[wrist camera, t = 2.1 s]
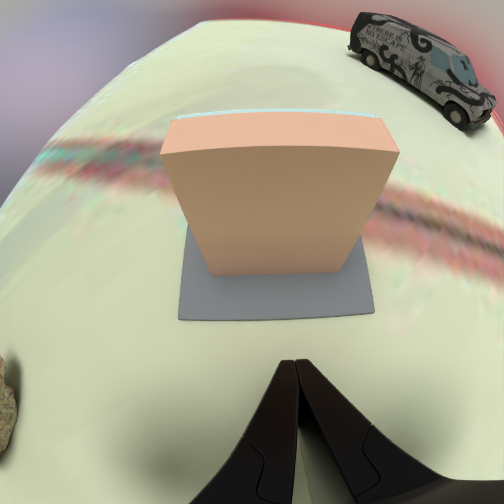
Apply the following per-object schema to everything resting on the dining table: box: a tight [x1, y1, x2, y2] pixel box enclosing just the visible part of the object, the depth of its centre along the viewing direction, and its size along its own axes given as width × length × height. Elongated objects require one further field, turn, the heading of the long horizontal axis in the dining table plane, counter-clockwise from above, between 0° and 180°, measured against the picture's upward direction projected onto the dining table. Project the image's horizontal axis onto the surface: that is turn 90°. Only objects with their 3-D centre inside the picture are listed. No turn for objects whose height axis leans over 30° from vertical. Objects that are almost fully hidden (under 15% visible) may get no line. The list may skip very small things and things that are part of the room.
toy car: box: [348, 12, 497, 130], centre depth 26 cm, size 11×25×10 cm, turn 32°
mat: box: [178, 224, 375, 321], centre depth 20 cm, size 20×12×1 cm, turn 0°
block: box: [160, 108, 400, 276], centre depth 13 cm, size 2×8×10 cm, turn 90°
